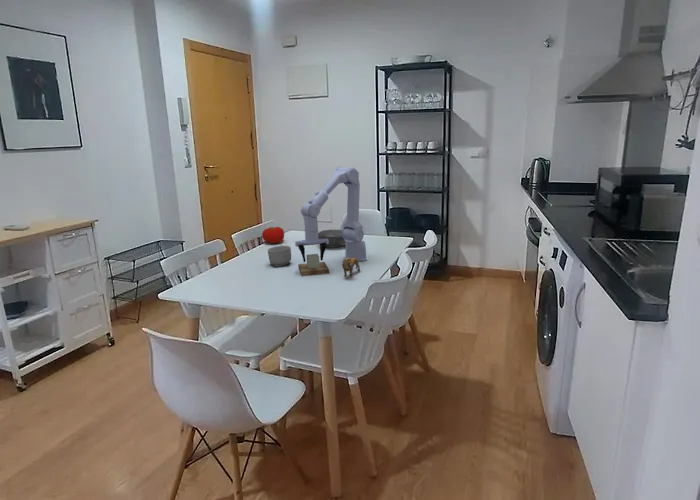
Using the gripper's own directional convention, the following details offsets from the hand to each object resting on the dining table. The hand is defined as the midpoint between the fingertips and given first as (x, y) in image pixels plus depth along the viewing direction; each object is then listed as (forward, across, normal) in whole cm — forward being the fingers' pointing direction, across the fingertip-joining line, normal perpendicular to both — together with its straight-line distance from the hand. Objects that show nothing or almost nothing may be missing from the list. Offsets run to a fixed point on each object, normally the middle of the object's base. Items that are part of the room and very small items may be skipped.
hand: (313, 260), depth 203 cm
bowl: (+5, -17, -41) cm, 45 cm away
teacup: (+5, +13, -17) cm, 22 cm away
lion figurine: (+5, -15, +11) cm, 19 cm away
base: (+5, 0, 0) cm, 5 cm away
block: (+3, 0, 0) cm, 3 cm away
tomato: (+5, +14, -61) cm, 63 cm away
